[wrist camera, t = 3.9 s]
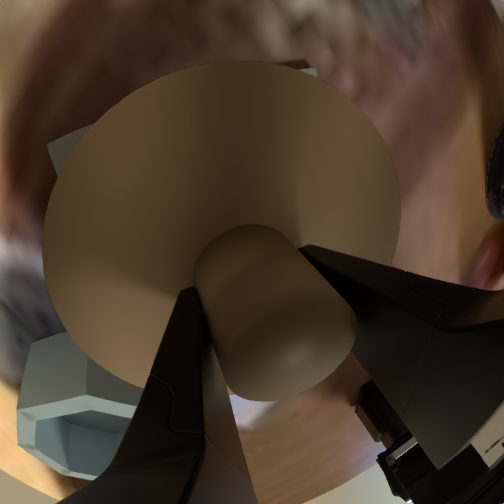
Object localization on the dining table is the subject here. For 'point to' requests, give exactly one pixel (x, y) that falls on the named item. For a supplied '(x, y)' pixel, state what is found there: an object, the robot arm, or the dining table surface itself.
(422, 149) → the dining table surface
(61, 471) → the bowl
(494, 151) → the storage jar
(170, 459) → the robot arm
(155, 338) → the lid
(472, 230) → the dining table surface
